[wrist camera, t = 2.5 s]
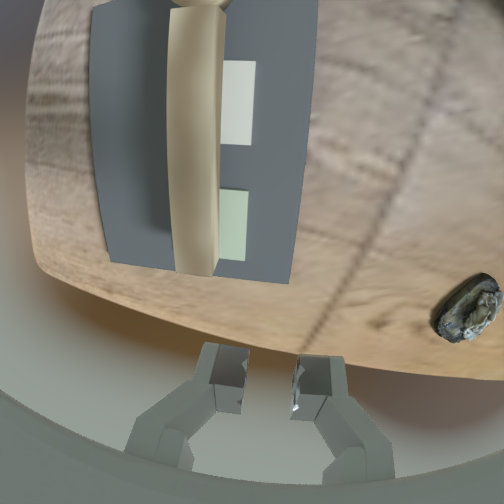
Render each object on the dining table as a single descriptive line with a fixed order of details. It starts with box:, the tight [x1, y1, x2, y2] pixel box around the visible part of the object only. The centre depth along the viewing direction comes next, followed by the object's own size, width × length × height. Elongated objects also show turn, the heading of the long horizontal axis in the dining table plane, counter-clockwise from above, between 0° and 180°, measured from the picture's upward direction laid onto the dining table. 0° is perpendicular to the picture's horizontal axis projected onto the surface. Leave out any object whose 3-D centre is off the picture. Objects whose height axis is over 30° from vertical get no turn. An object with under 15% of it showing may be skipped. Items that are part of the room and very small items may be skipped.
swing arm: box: [167, 0, 232, 277], centre depth 18 cm, size 4×24×3 cm, turn 177°
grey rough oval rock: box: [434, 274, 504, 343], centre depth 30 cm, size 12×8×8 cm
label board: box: [89, 0, 318, 284], centre depth 23 cm, size 20×28×4 cm
